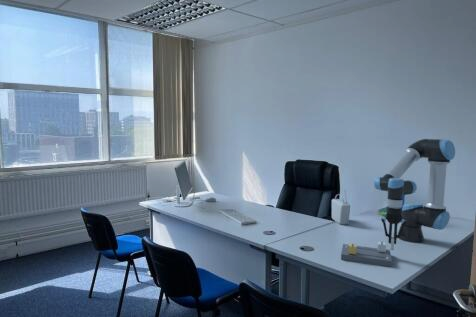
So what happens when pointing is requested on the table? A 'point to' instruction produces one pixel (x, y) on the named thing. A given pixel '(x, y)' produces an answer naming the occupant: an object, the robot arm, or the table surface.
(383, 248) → the fader grey
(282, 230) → the table surface
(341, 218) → the white jerry can
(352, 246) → the fader amber
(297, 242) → the table surface
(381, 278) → the table surface
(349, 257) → the board
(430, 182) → the robot arm
